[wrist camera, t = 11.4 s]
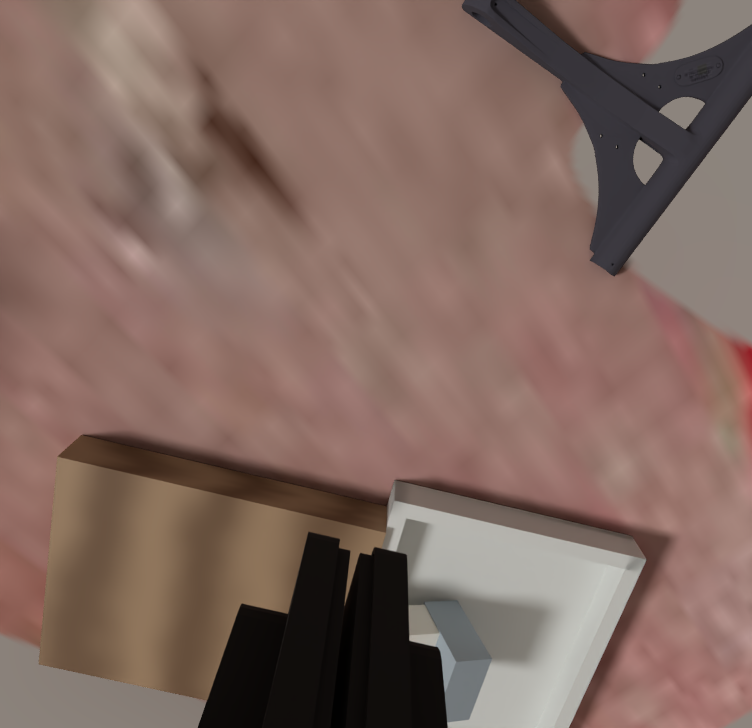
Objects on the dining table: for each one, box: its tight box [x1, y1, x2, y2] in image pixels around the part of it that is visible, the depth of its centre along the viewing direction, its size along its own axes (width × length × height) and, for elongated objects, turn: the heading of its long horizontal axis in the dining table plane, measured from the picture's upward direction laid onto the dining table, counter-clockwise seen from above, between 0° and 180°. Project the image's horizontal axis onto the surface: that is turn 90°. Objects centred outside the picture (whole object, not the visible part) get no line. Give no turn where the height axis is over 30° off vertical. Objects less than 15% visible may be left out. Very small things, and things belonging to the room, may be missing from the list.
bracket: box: [462, 0, 752, 276], centre depth 32 cm, size 14×15×3 cm
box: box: [382, 480, 647, 728], centre depth 42 cm, size 16×20×2 cm
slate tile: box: [423, 600, 492, 722], centre depth 40 cm, size 5×5×2 cm
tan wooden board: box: [39, 435, 387, 700], centre depth 41 cm, size 20×16×3 cm
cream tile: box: [409, 605, 440, 646], centre depth 40 cm, size 5×5×2 cm
